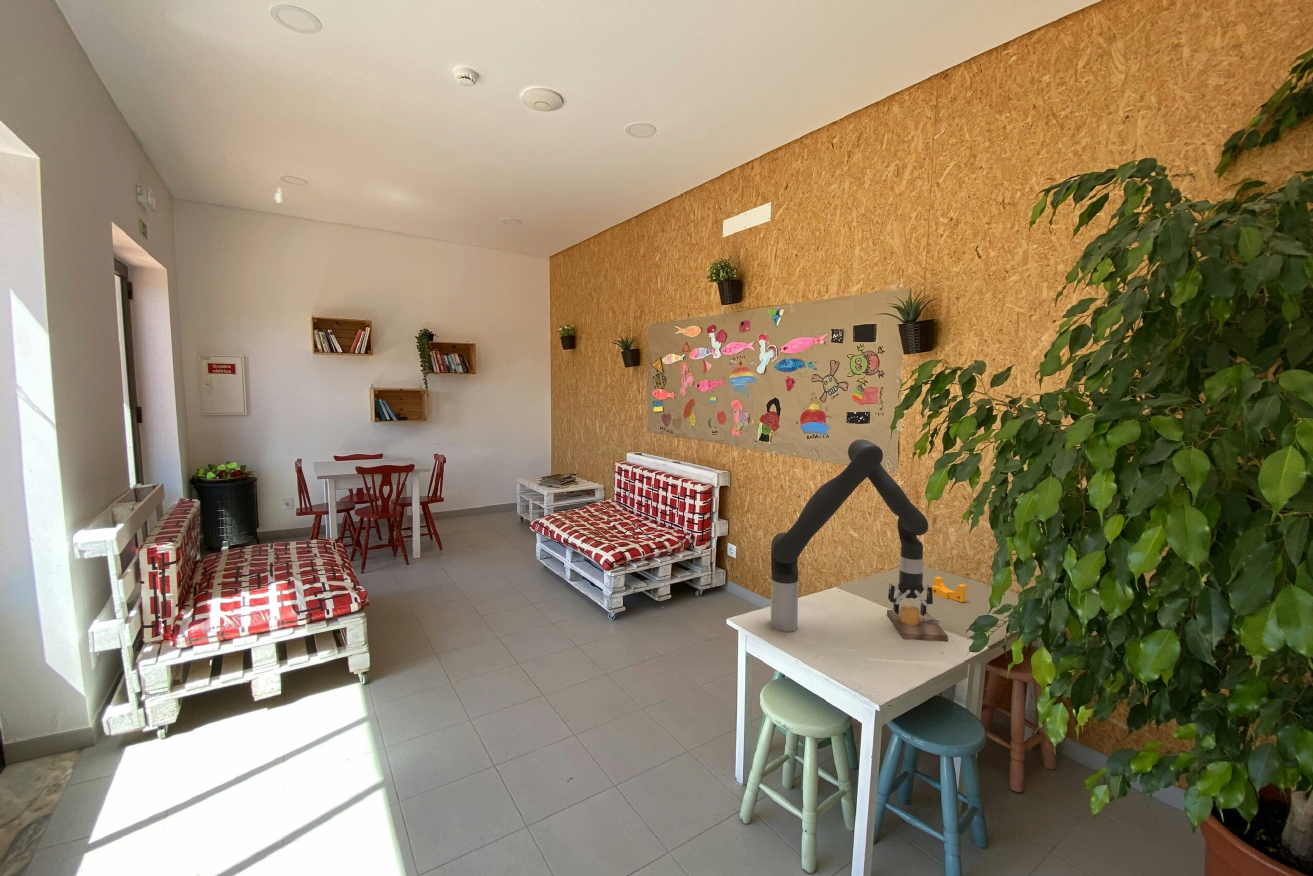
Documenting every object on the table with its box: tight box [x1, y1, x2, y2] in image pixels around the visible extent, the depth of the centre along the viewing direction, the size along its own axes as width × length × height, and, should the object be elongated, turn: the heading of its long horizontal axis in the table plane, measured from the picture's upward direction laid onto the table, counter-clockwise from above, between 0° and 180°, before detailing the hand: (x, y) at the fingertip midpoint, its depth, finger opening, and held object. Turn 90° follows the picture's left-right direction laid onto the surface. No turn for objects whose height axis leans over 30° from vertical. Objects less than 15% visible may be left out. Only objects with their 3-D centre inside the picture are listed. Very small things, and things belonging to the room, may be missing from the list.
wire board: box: [886, 609, 949, 642], centre depth 190 cm, size 14×20×6 cm
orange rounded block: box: [900, 604, 920, 625], centre depth 190 cm, size 5×6×5 cm
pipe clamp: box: [930, 576, 967, 603], centre depth 218 cm, size 12×4×6 cm, turn 29°
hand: (909, 614), depth 190 cm, fingers open, 8 cm apart
